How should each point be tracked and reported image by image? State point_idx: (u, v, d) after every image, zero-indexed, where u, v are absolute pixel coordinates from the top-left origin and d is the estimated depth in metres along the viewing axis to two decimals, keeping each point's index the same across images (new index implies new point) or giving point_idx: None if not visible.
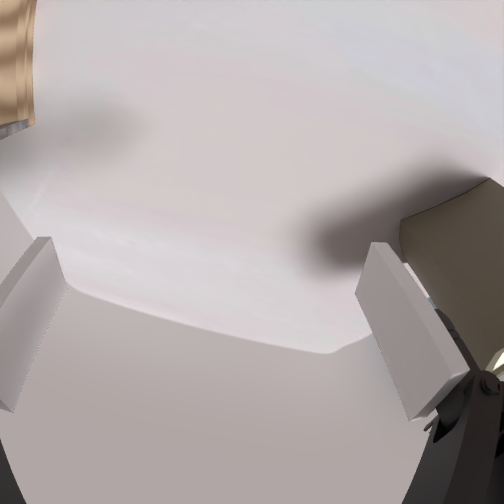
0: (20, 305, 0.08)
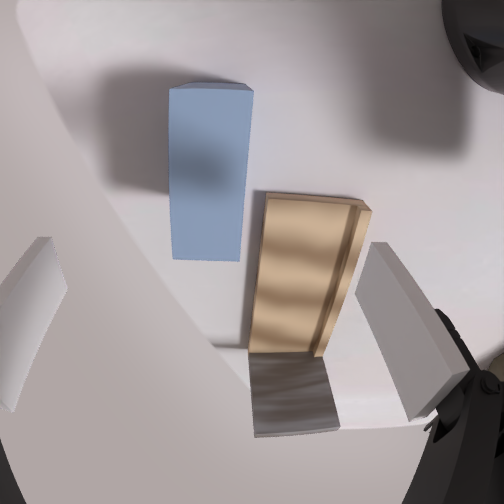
0: (20, 305, 0.08)
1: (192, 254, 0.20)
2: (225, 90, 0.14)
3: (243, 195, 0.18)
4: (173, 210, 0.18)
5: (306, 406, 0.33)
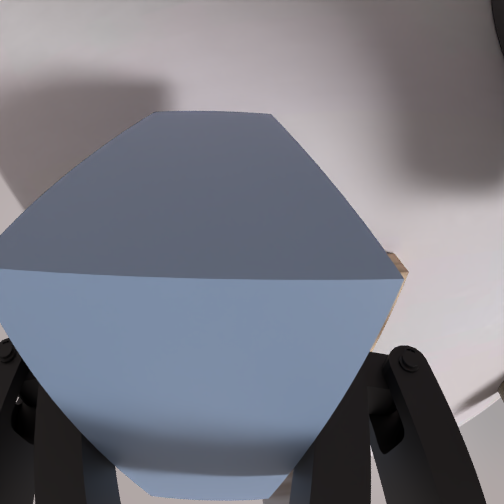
0: None
1: (184, 497, 0.08)
2: (247, 286, 0.03)
3: (289, 470, 0.06)
4: (132, 476, 0.06)
5: None
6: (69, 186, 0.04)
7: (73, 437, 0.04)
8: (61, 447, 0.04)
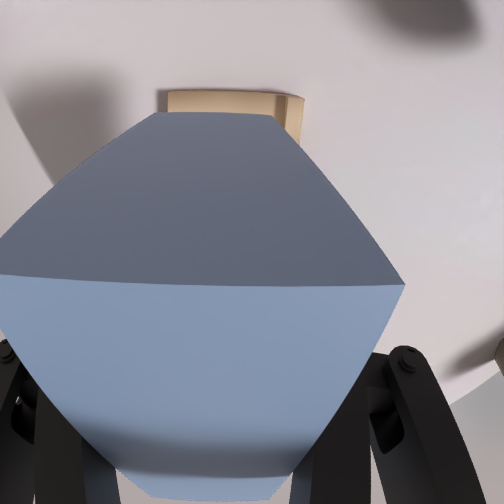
0: None
1: (184, 498, 0.08)
2: (248, 292, 0.03)
3: (289, 472, 0.06)
4: (132, 477, 0.06)
5: None
6: (68, 189, 0.04)
7: (73, 437, 0.04)
8: (61, 447, 0.04)
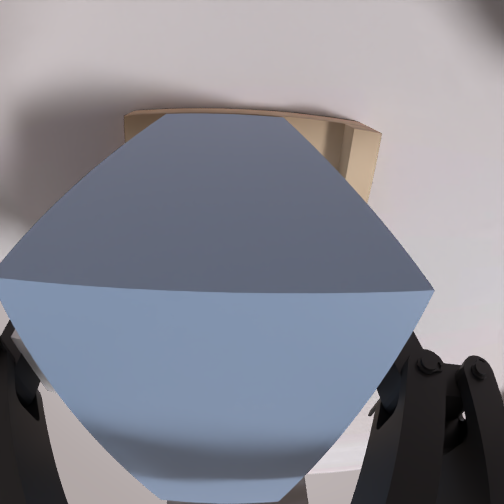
0: None
1: (194, 500, 0.08)
2: (289, 300, 0.03)
3: (303, 474, 0.06)
4: (145, 481, 0.06)
5: None
6: (88, 191, 0.04)
7: (6, 437, 0.04)
8: None
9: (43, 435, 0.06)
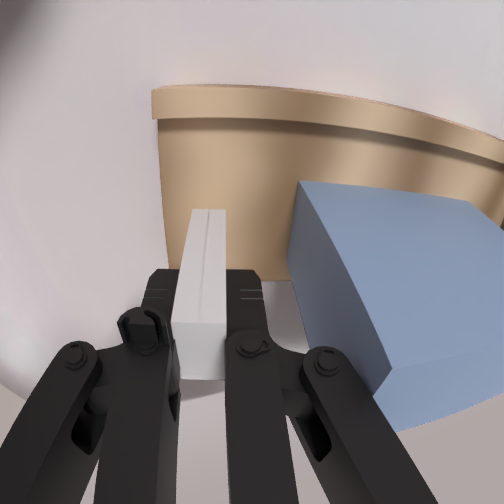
0: None
1: None
2: None
3: None
4: (489, 397, 0.09)
5: None
6: None
7: (149, 446, 0.05)
8: (134, 455, 0.04)
9: (175, 438, 0.07)
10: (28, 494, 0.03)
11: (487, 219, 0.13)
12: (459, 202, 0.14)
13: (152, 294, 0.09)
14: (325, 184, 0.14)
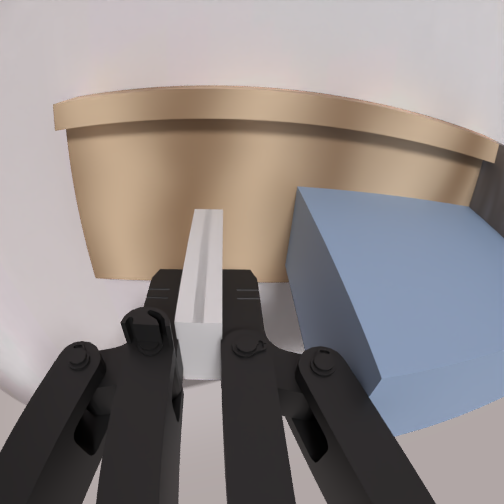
0: None
1: None
2: None
3: None
4: (484, 403, 0.09)
5: None
6: None
7: (153, 447, 0.05)
8: (137, 456, 0.04)
9: (178, 438, 0.07)
10: (30, 495, 0.03)
11: (486, 225, 0.13)
12: (459, 208, 0.14)
13: (155, 294, 0.09)
14: (324, 190, 0.14)
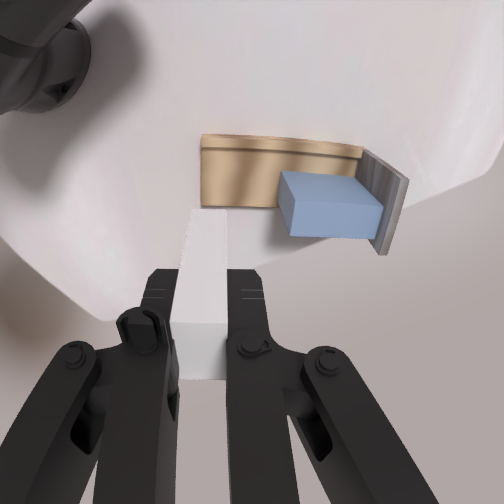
0: None
1: (374, 229, 0.35)
2: (294, 212, 0.33)
3: (348, 204, 0.33)
4: (349, 236, 0.36)
5: (380, 196, 0.34)
6: (287, 224, 0.37)
7: (148, 446, 0.05)
8: (133, 455, 0.04)
9: (174, 438, 0.07)
10: (27, 494, 0.03)
11: (357, 182, 0.40)
12: (347, 177, 0.41)
13: (151, 294, 0.09)
14: (290, 171, 0.41)
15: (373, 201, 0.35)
